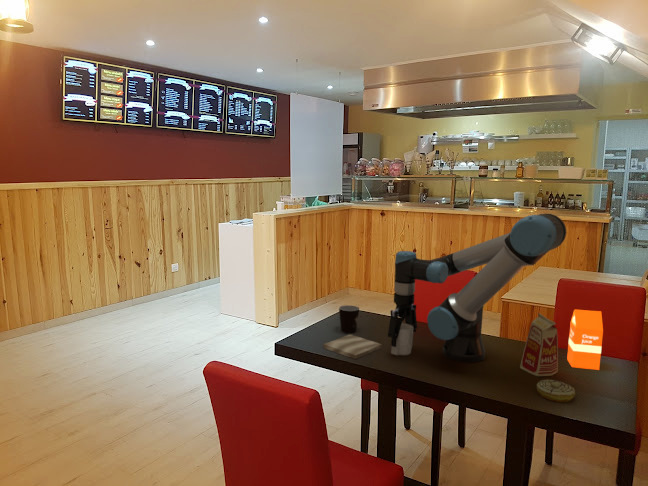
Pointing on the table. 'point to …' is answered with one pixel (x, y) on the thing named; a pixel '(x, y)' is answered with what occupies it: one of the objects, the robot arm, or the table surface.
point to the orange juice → (585, 339)
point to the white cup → (405, 339)
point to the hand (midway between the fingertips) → (402, 350)
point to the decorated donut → (555, 390)
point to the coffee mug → (348, 318)
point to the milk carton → (541, 348)
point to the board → (352, 346)
